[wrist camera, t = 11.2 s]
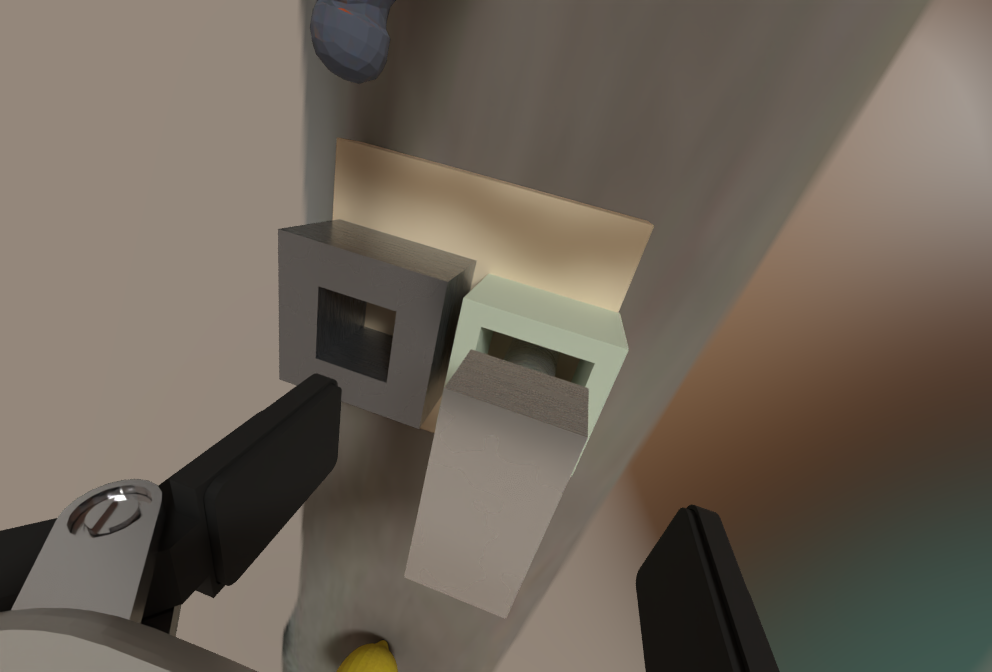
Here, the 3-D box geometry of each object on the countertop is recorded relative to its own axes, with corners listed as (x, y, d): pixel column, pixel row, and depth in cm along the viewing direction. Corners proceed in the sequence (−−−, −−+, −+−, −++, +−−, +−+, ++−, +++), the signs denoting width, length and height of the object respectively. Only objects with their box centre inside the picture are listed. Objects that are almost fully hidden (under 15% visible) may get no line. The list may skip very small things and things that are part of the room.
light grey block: (521, 274, 17) (443, 388, 8) (590, 295, 17) (587, 437, 8) (487, 397, 20) (404, 577, 11) (545, 417, 20) (505, 619, 11)
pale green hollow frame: (489, 273, 17) (463, 297, 14) (619, 313, 17) (628, 349, 13) (462, 383, 20) (435, 427, 16) (574, 421, 19) (572, 476, 16)
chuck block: (340, 219, 18) (278, 229, 14) (476, 260, 17) (447, 281, 14) (332, 345, 21) (279, 379, 17) (448, 384, 20) (419, 429, 17)
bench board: (361, 141, 18) (336, 137, 17) (646, 220, 17) (654, 225, 15) (343, 377, 24) (323, 393, 23) (553, 451, 23) (551, 474, 21)
